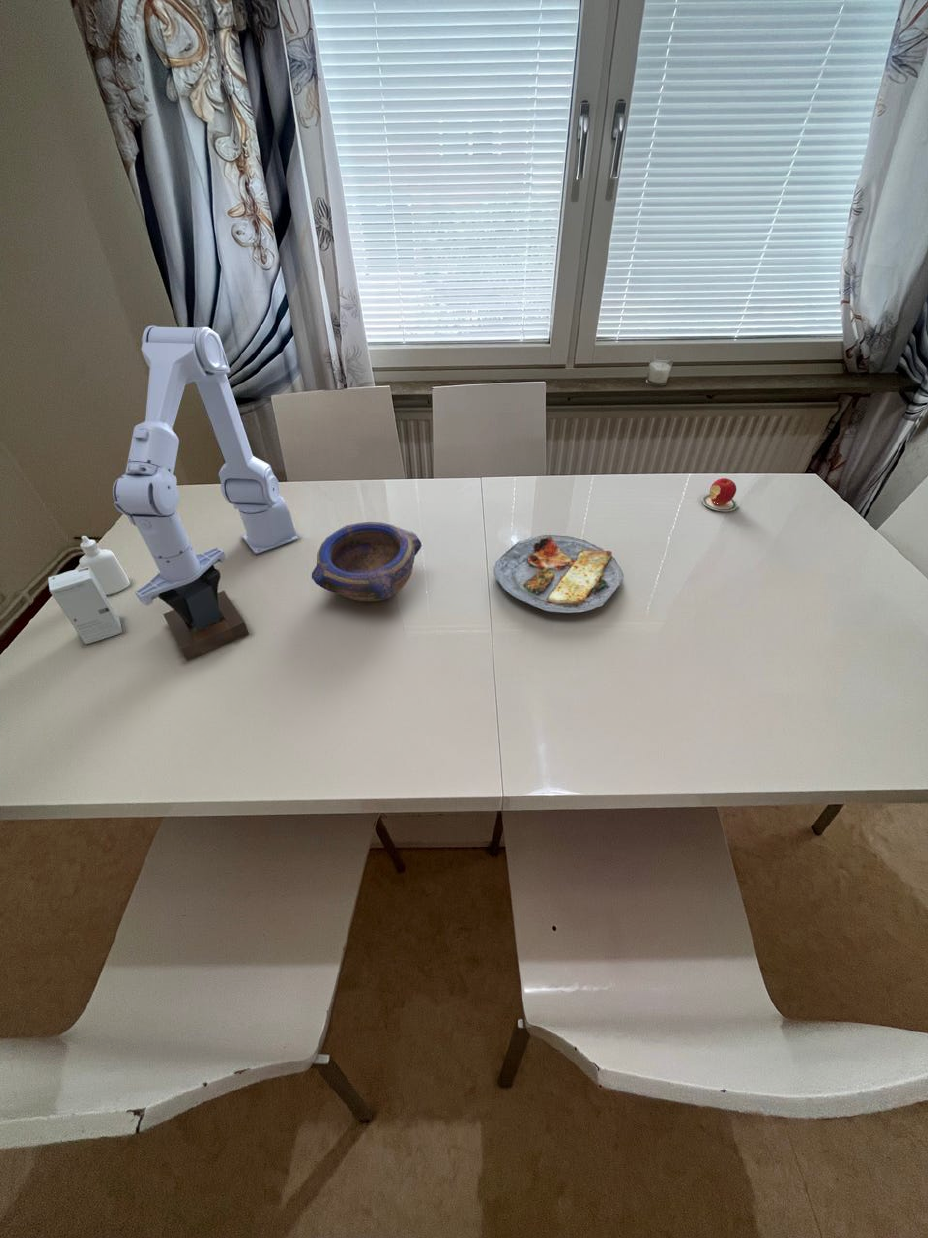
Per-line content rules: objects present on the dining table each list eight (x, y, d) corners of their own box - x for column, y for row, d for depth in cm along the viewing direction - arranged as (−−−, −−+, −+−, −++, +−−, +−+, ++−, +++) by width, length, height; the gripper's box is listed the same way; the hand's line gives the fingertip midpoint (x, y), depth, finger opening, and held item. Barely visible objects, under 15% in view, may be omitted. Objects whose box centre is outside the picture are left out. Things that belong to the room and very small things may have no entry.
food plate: (537, 531, 115) (538, 517, 112) (637, 567, 105) (641, 553, 102) (473, 589, 100) (474, 575, 97) (583, 638, 90) (586, 623, 88)
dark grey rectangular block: (206, 606, 92) (194, 575, 87) (222, 617, 90) (211, 585, 85) (183, 620, 89) (170, 588, 84) (199, 631, 87) (186, 599, 83)
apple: (732, 516, 119) (742, 491, 115) (697, 506, 122) (705, 481, 118) (739, 501, 124) (749, 476, 120) (705, 492, 127) (714, 468, 123)
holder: (229, 602, 97) (224, 590, 95) (249, 634, 91) (244, 621, 89) (169, 626, 92) (163, 613, 90) (186, 661, 86) (180, 648, 84)
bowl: (306, 605, 96) (294, 562, 90) (353, 552, 109) (345, 511, 102) (392, 628, 92) (386, 584, 85) (431, 570, 104) (429, 528, 97)
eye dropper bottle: (103, 582, 101) (71, 531, 93) (133, 580, 102) (104, 528, 94) (95, 597, 98) (61, 545, 90) (126, 594, 99) (96, 542, 91)
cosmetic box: (85, 646, 89) (46, 592, 80) (83, 630, 91) (45, 577, 83) (125, 632, 91) (91, 578, 83) (121, 617, 94) (88, 564, 86)
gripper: (196, 519, 85) (222, 583, 95) (110, 561, 77) (148, 627, 86) (223, 532, 83) (247, 597, 92) (136, 578, 74) (173, 644, 83)
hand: (201, 612), depth 89 cm, fingers closed on dark grey rectangular block, 4 cm apart
